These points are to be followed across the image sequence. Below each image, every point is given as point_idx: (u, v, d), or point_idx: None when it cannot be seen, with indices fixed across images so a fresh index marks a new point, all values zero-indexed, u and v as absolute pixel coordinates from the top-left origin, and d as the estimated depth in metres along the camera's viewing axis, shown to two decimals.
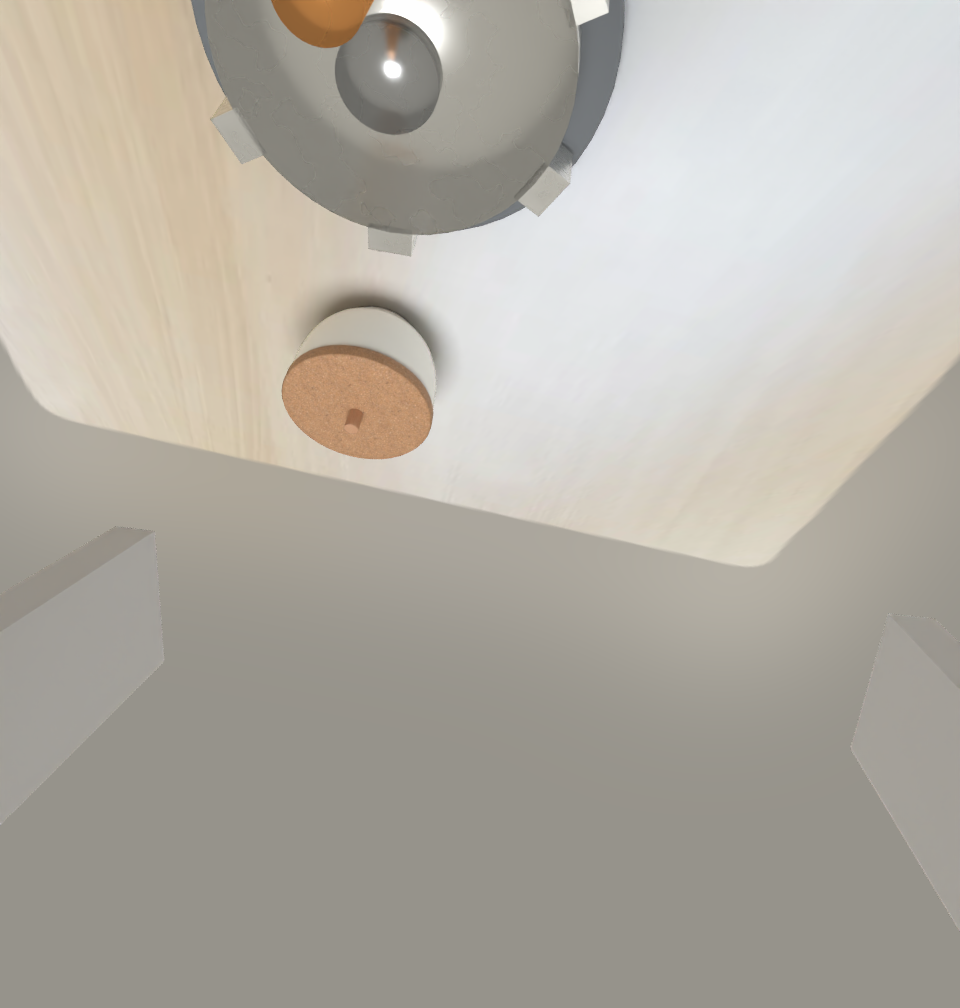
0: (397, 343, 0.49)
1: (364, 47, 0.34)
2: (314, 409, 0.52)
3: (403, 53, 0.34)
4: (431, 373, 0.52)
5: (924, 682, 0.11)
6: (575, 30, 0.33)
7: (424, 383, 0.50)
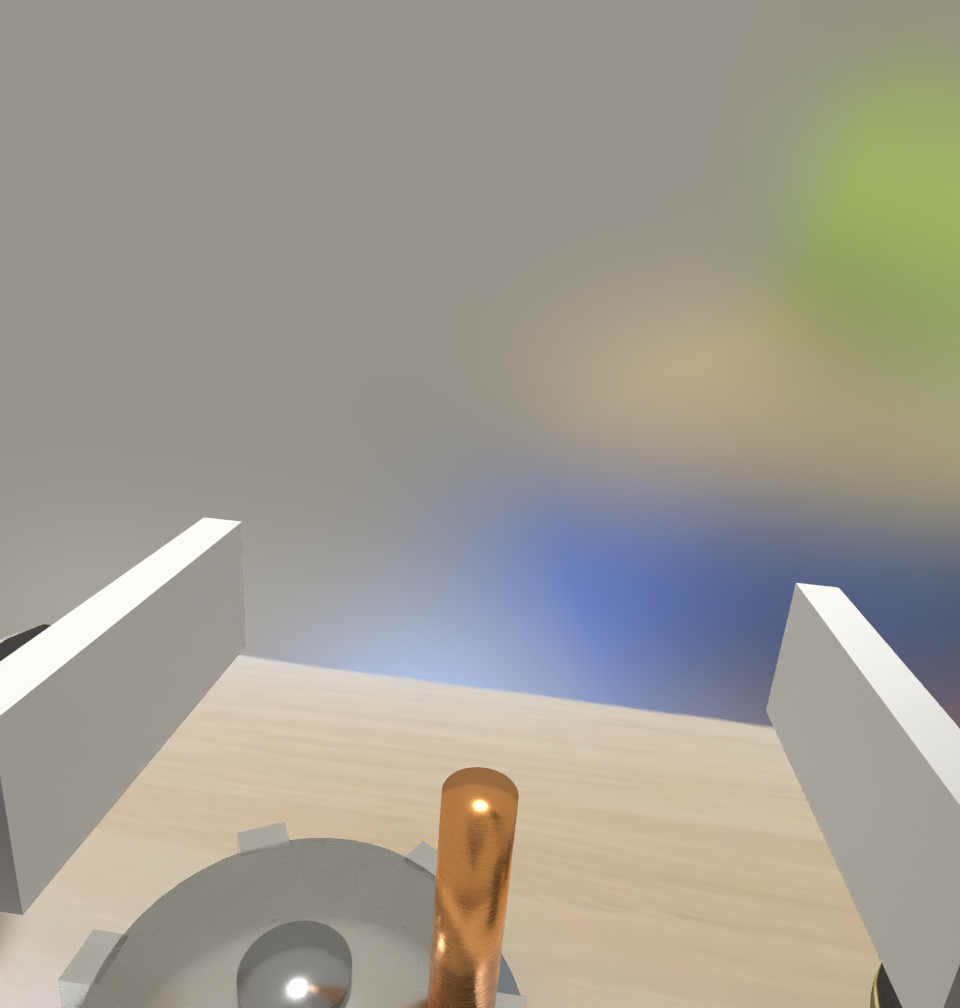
0: None
1: (332, 952, 0.33)
2: None
3: (321, 990, 0.32)
4: None
5: (818, 643, 0.12)
6: None
7: None
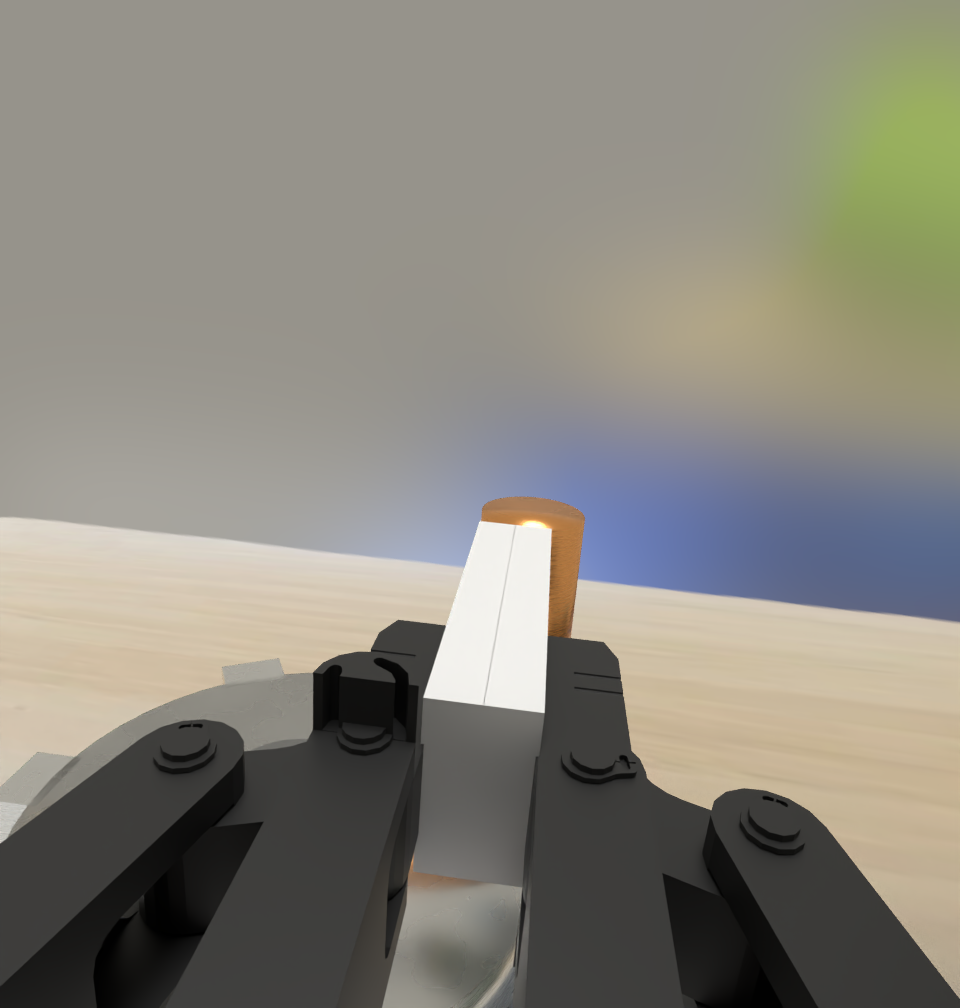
0: None
1: None
2: None
3: None
4: None
5: None
6: None
7: None
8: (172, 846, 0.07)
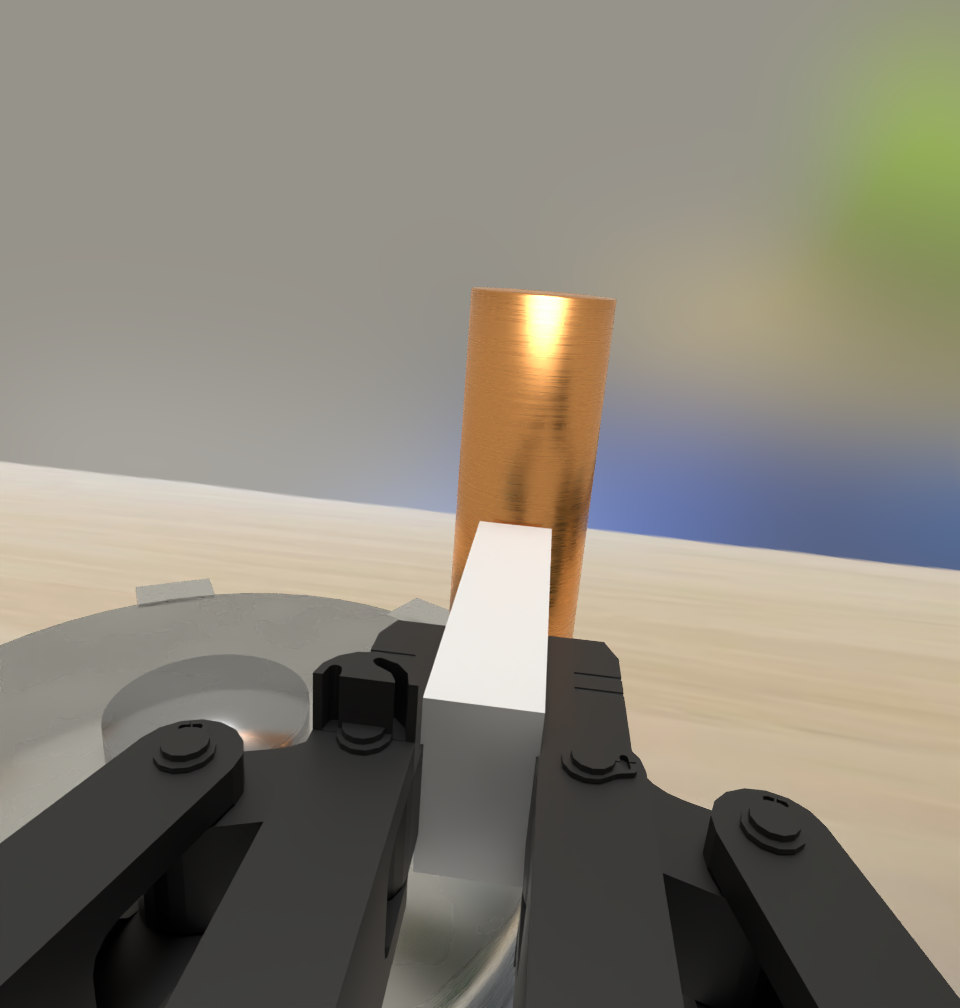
0: None
1: (275, 687, 0.20)
2: None
3: (253, 728, 0.18)
4: None
5: None
6: None
7: None
8: (172, 845, 0.07)
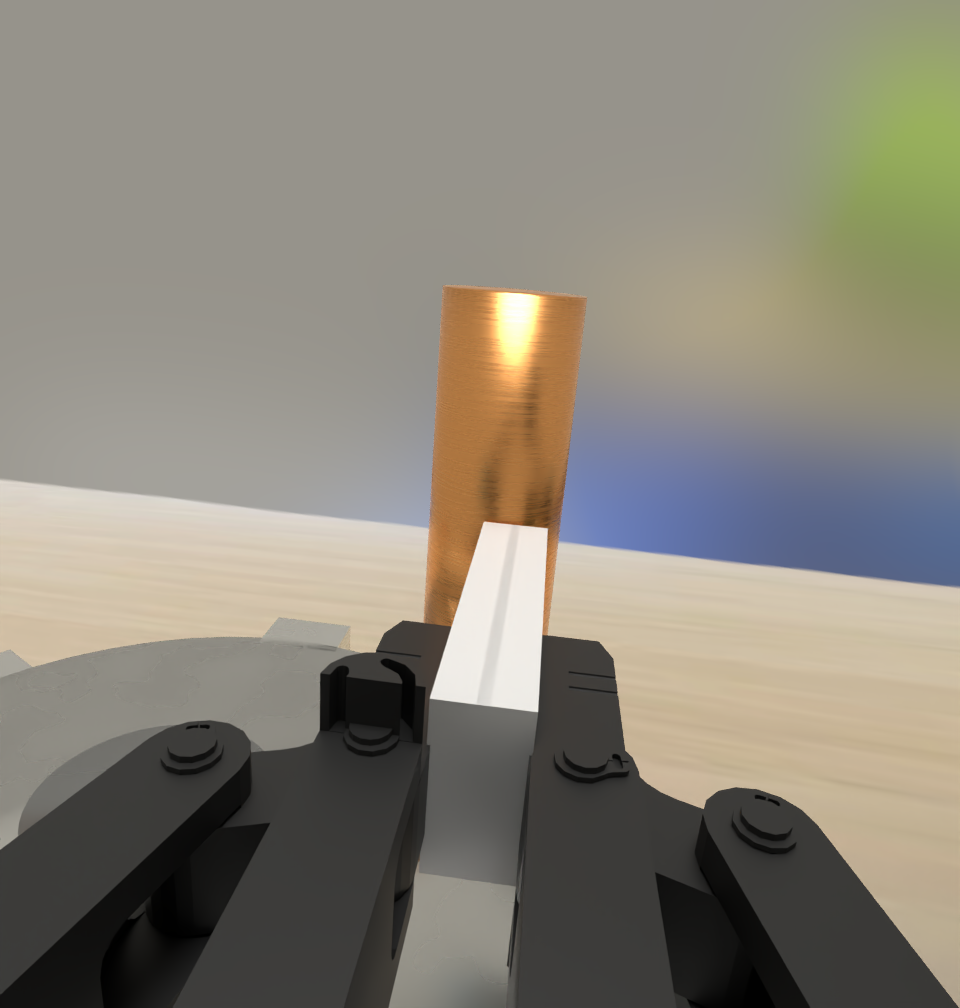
0: None
1: None
2: None
3: None
4: None
5: None
6: None
7: None
8: (179, 847, 0.07)
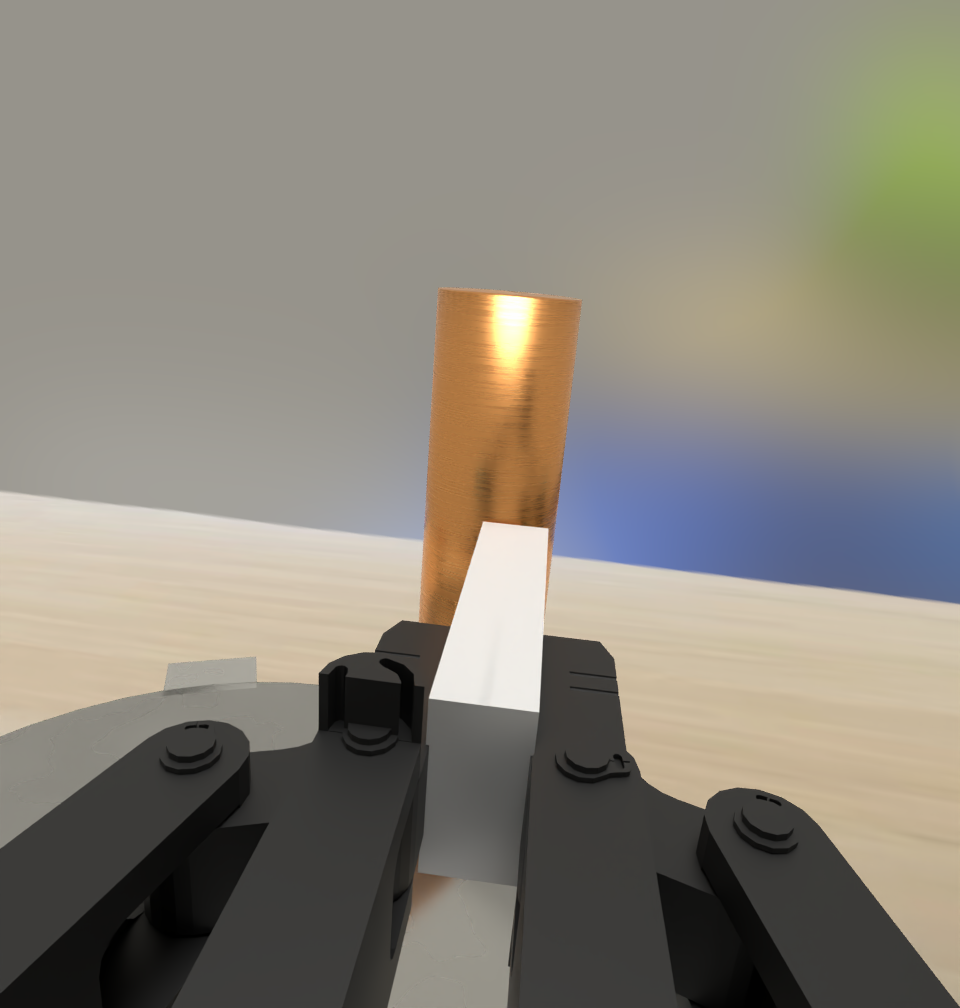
0: None
1: None
2: None
3: None
4: None
5: None
6: None
7: None
8: (178, 847, 0.07)
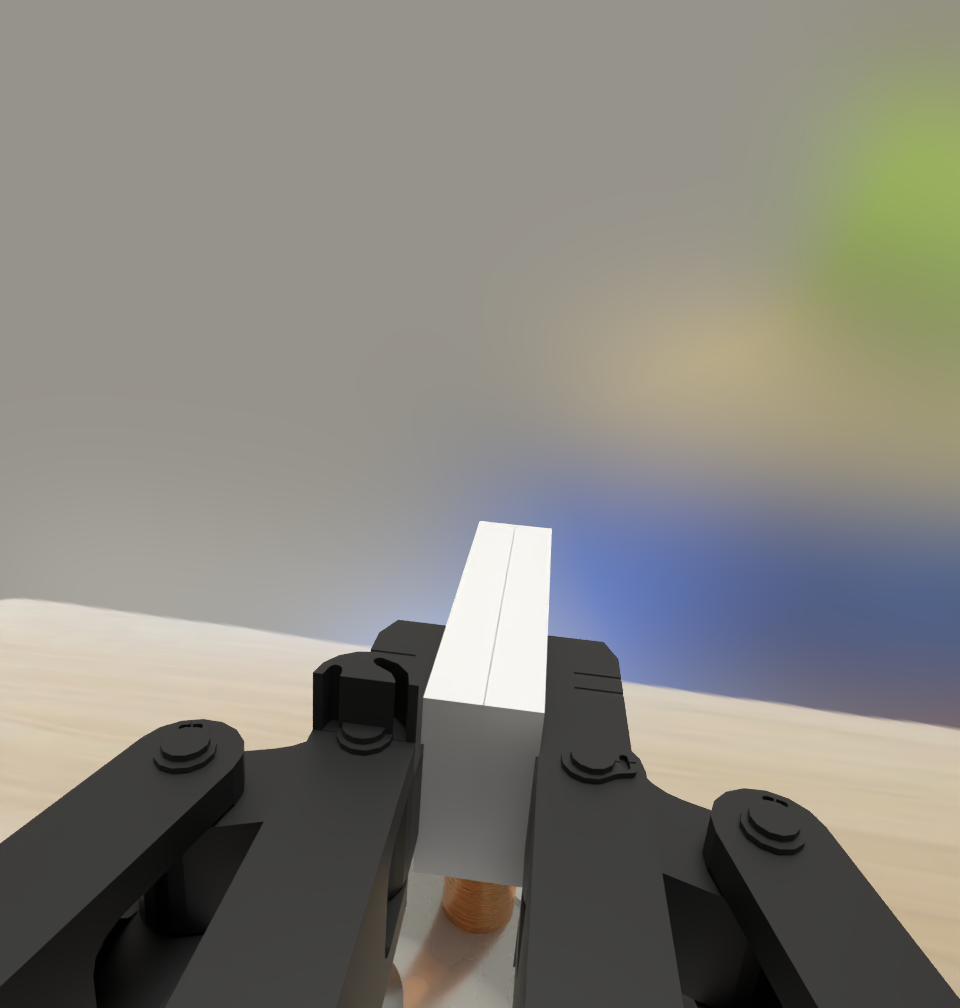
0: None
1: None
2: None
3: None
4: None
5: None
6: None
7: None
8: (172, 846, 0.07)
